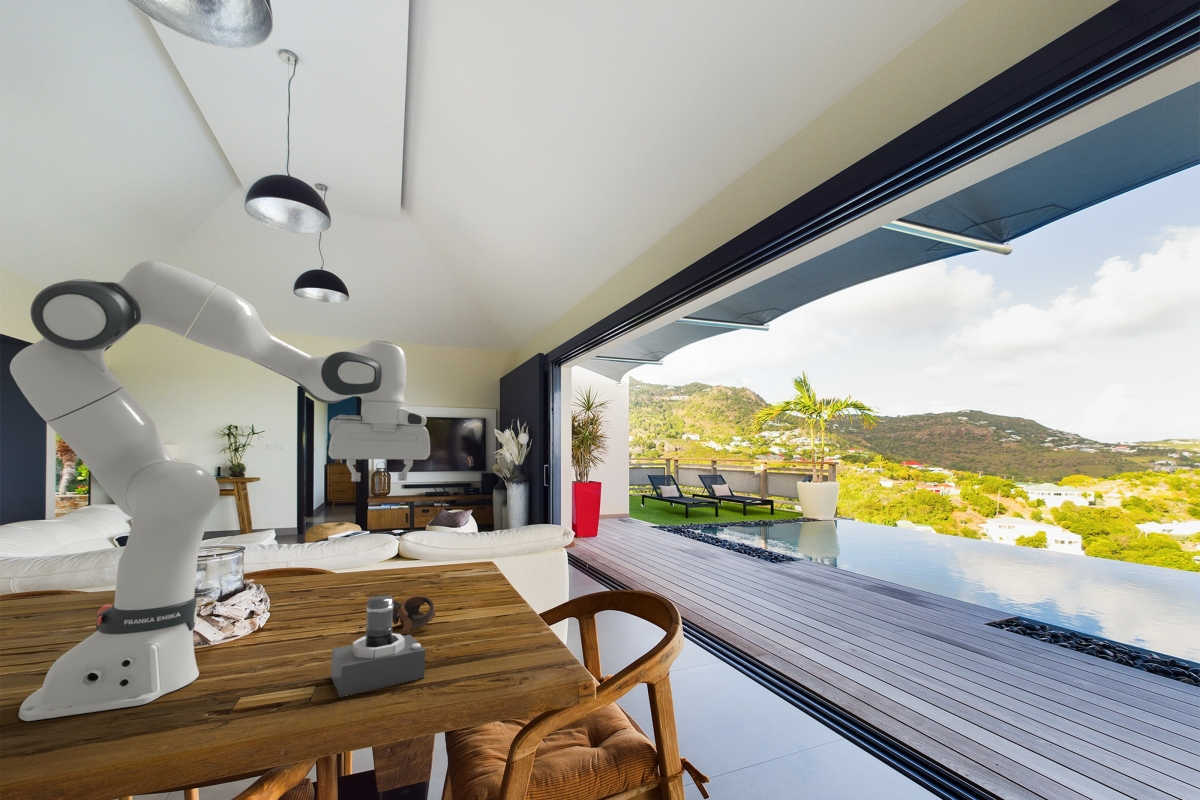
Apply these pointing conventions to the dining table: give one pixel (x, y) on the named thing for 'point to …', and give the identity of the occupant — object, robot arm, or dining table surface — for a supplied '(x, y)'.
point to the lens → (379, 621)
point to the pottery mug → (412, 613)
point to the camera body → (376, 665)
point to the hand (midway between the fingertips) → (379, 480)
